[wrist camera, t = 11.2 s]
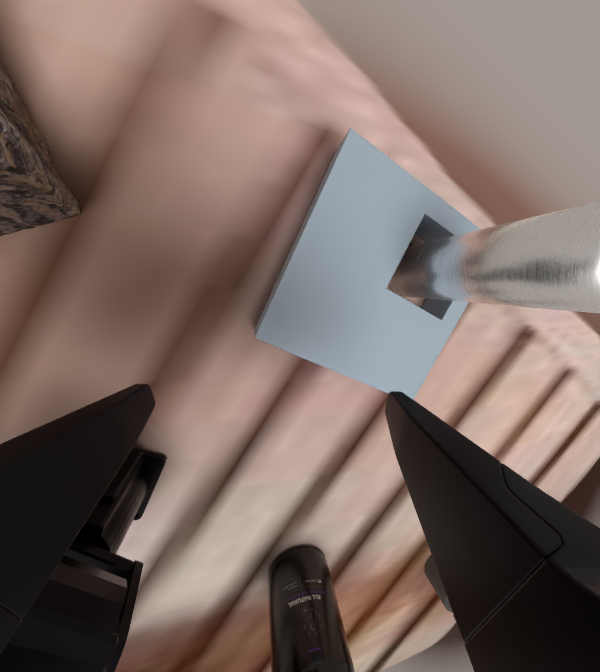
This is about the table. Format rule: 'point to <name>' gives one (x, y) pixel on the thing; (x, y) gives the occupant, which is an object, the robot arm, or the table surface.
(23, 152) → the stone block
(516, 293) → the polished metal rod
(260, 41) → the table surface
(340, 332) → the jig plate
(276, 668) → the supplement bottle
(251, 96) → the table surface
